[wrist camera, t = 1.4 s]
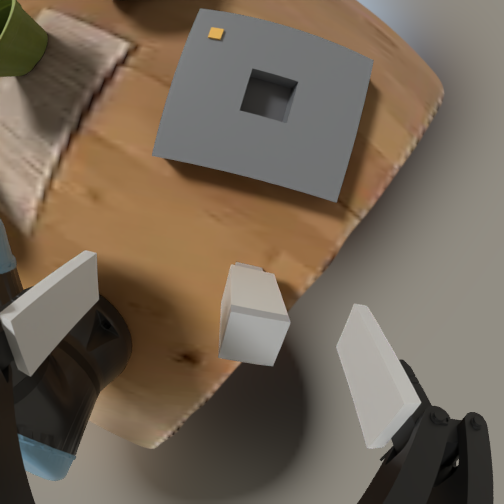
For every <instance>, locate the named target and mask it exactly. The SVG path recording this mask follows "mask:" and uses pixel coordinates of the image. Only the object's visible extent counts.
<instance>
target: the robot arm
mask: <svg viewBox="0 0 504 504" xmlns="http://www.w3.org/2000/svg"><path fill="white" fill-rule="evenodd" d="M16 265H17V264H16V258H15V256H14V255H13V254H12V252H11V248H10V245H9V241H8V238H7V234H6V230H5V227H4V224H3V222H2V220H1V219H0V504H35V502H34V499H33V496H32V493H31V489H30V486H29V483H28V479H27V475H26V472H25V470H26V471H28V472H30V473H32V474H35V475H37V476H39V477H42V478H44V479H47V480H52V481H58V480H61V479H63V478H64V477H65V476H66V475H67V472H68V470H69V468H70V466H71V464H72V461H73V460H75V458H76V456H75V455H76V452H77V449H78V447H79V444H80V441H81V438H82V436H83V433H84V430H85V428H86V425H87V422H88V420H89V417H90V415H91V412H92V410H93V407H94V405H95V402H96V400H97V398H98V395H99V393H100V391H102V390H103V389H104V388H105V387H106V386H107V385H108V384H109V383H111V382H112V381H113V380H114V379H115V378H116V377H117V376H118V375H120V374H121V373H122V371H123V370H124V369H125V367H126V365H127V362H128V360H129V358H130V355H131V351H132V341H131V336H130V332H129V330H128V327H127V325H126V323H125V321H124V320H123V318H122V317H121V315H120V314H119V313H118V311H117V310H116V309H115V308H114V307H113V306H112V305H111V304H110V303H109V302H108V301H107V300H106V299H105V298H104V297H102V296H101V295H99V291H98V274H97V253H94V252H90V251H86V250H85V251H83V252H82V253H80V254H79V255H77V256H76V257H74V258H73V259H71V260H70V261H68V262H67V263H66V264H64V265H63V266H61V267H60V268H58V269H57V270H55V271H54V272H53V273H51V274H50V275H48V276H47V277H46V278H44V279H43V280H42V281H40V282H39V283H38V284H36V285H35V286H32V287H30V288H27V289H25V290H23V287H22V284H21V281H20V278H19V275H18V271H17V268H16ZM336 349H337V352H338V354H339V358H340V361H341V364H342V367H343V370H344V373H345V376H346V379H347V383H348V386H349V389H350V392H351V396H352V399H353V402H354V405H355V409H356V412H357V416H358V419H359V422H360V426H361V429H362V433H363V436H364V440H365V443H366V448H367V449H371V448H381V447H384V446H385V445H386V444H387V442H388V441H389V440H390V439H392V442H393V445H394V446H393V447H392V448H391V449H390V450H389V451H388V452H387V453H386V454H385V455H384V456H383V457H382V458H381V459H380V460H381V461H382V460H383V459H384V458H385V459H384V461H383V463H382V465H381V466H380V468H379V470H378V472H377V473H376V475H375V477H374V478H373V480H372V482H371V483H370V485H369V487H368V488H367V490H366V491H365V493H364V494H363V496H362V498H361V499H360V500H359V502H358V503H357V504H493V474H492V473H493V471H492V459H491V450H490V441H489V434H488V428H487V424H486V421H485V420H484V418H483V417H482V416H481V415H480V414H477V413H475V412H470V413H467V415H466V416H465V417H464V418H463V420H455V419H450V417H449V415H448V414H447V412H446V411H445V410H443V409H442V408H440V407H437V406H432V405H431V403H430V402H429V400H428V398H427V396H426V394H425V392H424V391H423V388H422V387H421V385H420V384H419V381H418V379H417V378H416V377H415V374H414V372H413V370H412V369H411V367H410V366H409V365H408V364H407V363H406V362H405V361H404V360H399V359H398V358H397V356H396V354H395V353H394V351H393V349H392V347H391V345H390V343H389V342H388V340H387V338H386V337H385V335H384V333H383V331H382V330H381V328H380V326H379V325H378V323H377V321H376V320H375V318H374V316H373V315H372V313H371V311H370V310H369V308H368V306H366V305H359V304H354V305H353V308H352V310H351V312H350V315H349V318H348V320H347V322H346V325H345V327H344V330H343V332H342V334H341V336H340V339H339V341H338V343H337V346H336ZM458 459H459V465H458V466H456V461H457V460H458Z"/></svg>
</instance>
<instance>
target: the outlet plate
mask: <svg viewBox="0 0 504 504" xmlns="http://www.w3.org/2000/svg"><path fill="white" fill-rule="evenodd" d="M373 61H374V60H372V59H370V58H368V57H365V56H363V55H361V54H359V53H357V52H355V51H352V50H350V49H348V48H346V47H343V46H341V45H339V44H336V43H334V42H331V41H329V40H326V39H323V38H321V37H318V36H315V35H312V34H309V33H307V32H304V31H301V30H297V29H294V28H291V27H288V26H284V25H281V24H277V23H274V22H270V21H266V20H262V19H258V18H253V17H249V16H244V15H239V14H234V13H228V12H222V11H216V10H209V9H201V8H200V10H199V12H198V14H197V17H196V19H195V21H194V24H193V26H192V29H191V31H190V34H189V36H188V39H187V41H186V44H185V46H184V49H183V52H182V55H181V57H180V60H179V63H178V66H177V69H176V72H175V75H174V78H173V81H172V84H171V87H170V90H169V93H168V97H167V100H166V103H165V107H164V110H163V114H162V117H161V121H160V125H159V129H158V132H157V136H156V140H155V144H154V149H153V153H152V156H156V157H161V158H166V159H171V160H176V161H181V162H186V163H191V164H195V165H200V166H204V167H209V168H213V169H217V170H221V171H226V172H230V173H234V174H238V175H242V176H246V177H250V178H253V179H257V180H261V181H265V182H268V183H272V184H276V185H279V186H283V187H286V188H290V189H293V190H297V191H300V192H303V193H307V194H310V195H313V196H317V197H320V198H323V199H326V200H329V201H333V202H336V203H337V199H338V196H339V193H340V190H341V186H342V183H343V180H344V176H345V173H346V170H347V166H348V163H349V159H350V156H351V152H352V148H353V145H354V141H355V137H356V134H357V130H358V126H359V122H360V118H361V114H362V110H363V106H364V102H365V98H366V93H367V89H368V84H369V80H370V75H371V71H372V66H373Z"/></svg>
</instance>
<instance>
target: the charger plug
mask: <svg viewBox="0 0 504 504" xmlns="http://www.w3.org/2000/svg"><path fill="white" fill-rule="evenodd" d="M289 325H290V319H289V316H288V313H287V310H286V307H285V304H284V301H283V299H282V296H281V293H280V290H279V287H278V284H277V281H276V278H275V275H274V274H272V273H268V272H263V269H262V268H261V267H257V266H252V265H248V264H243V263H239V262H236V264H235V265H232V264H231V267H230V270H229V274H228V278H227V282H226V286H225V290H224V294H223V298H222V302H221V316H220V335H219V356H218V358H223V359H228V360H234V361H240V362H246V363H253V364H260V365H267V366H273V364H274V362H275V360H276V357H277V355H278V352H279V350H280V348H281V345H282V343H283V340H284V338H285V335H286V333H287V330H288V328H289Z"/></svg>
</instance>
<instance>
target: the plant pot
mask: <svg viewBox="0 0 504 504" xmlns="http://www.w3.org/2000/svg"><path fill="white" fill-rule="evenodd" d="M47 41H48V36H47V34H46V32H45V31H44V29H43V28H42V27H41V26H39V25H38V24H37V23H36V22H35V21H34V20H33V19H32V18H31V17H30V16H29V15H28V14H27V13H26V12H25V11H24V10H23V9H22V7H21V5H20V4H19V3H18V2H17V0H0V77H7V76H22V75H25V74H27V73H28V72H30V71H31V70H32V69H33V67H34V66H35V64H36V63H37V62H38V61H39V60H40V59H41V57H42V56H43V54H44V52H45V49H46V46H47Z"/></svg>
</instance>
